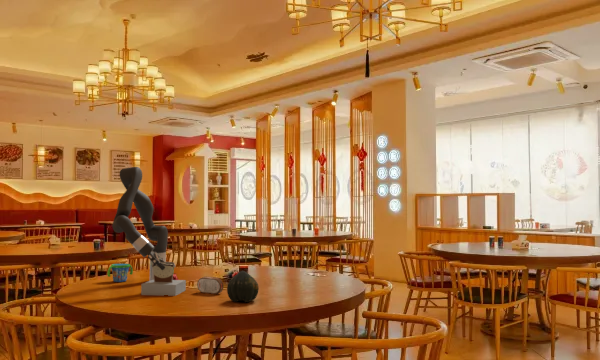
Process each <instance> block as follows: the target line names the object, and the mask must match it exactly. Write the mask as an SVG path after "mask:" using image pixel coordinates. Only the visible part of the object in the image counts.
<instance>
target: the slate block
mask: <svg viewBox="0 0 600 360" xmlns="http://www.w3.org/2000/svg"><path fill="white" fill-rule="evenodd" d="M186 281H187V280H186V279H178V280H173V281H172V283H160V282H154V280H151V281H150V280H148V281H146V282H142V283H141V284H140V285H141V287H140V289H141V290H140V295H141V296H164V295H168V296H169V297H171V296H172V297H175V296H177V295H180V294H182V293H183V292H185V291H186V289H187V288H186V286H187V282H186Z"/></svg>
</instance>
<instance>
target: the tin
mask: <svg viewBox="0 0 600 360" xmlns="http://www.w3.org/2000/svg"><path fill="white" fill-rule="evenodd" d="M196 285H197V286H196V287H197V289H198V291H199V292H200V293H202V294H209V293H211V295H218V294H221V293H222V292H223V290H224V282H223V281H222V279H221V278H220V277H214V276H213V277H212V276H203V277H200V278H199V279H198V280H197V283H196Z"/></svg>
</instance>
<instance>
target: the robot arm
mask: <svg viewBox="0 0 600 360" xmlns="http://www.w3.org/2000/svg"><path fill="white" fill-rule="evenodd" d="M119 178H120V181H121V183H122V185H123V187H124V188H125V190H126V191H124V193H123V194H122V195H121V197H120V198H119V201H118V204H117V210H116V213H115V216H114V218H113V221H112V230H113V231H114V232H115V233H116V234H120V233H124V234H125V240H126V241H127V242H129V243H130V244H131V245H132V246H133V248H134V249H135V251H137V253H139V254H140V255H141V256H142V257H143V258H146V257H147V259H149V281H151V280H154V274H153V267H152V264H153V263H154V265H157V266H158V267H159V268H160V269H161V270H164V269H165V266H164V265H163V264H162V263H160V262H167V248H168V241H169V240H168V238H169V232H168V231H169V230H168V228H167V226H165V225H156V224H155V223H154V221H153V214H154V210H155V209H154V205H153V203H152V201H151V199H150V197H149V196H148V195H147V194H146V193H144V192H143V191H141V190H140V189H139V188H140V185H141V183H142V180H143V172H142V170H141V168H140V166H133V167H132V166H131V167H125V168H122V169H121V170H120V171H119ZM133 204H134V207H135V209H136V212H137V213H138V215H139V217H140V220H141V221H142V224H143V227H144V230H145V233H146V236H147V238H148V239H147V238H146V237H145V236H144V235H143V234H141V233H140V232H139V231H138V230H137V228H136V226H135V225H134V223H133V222H132V220H131V219H130V218H129V216H131V215H130V214H131V212H132V209H133V208H132V207H133ZM150 241H153V242H156V245H153V243H151V242H150Z"/></svg>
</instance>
